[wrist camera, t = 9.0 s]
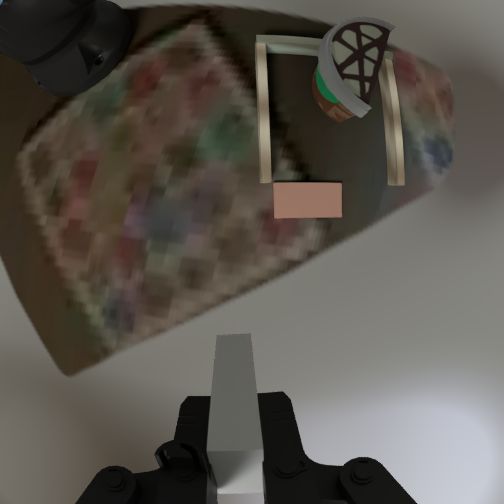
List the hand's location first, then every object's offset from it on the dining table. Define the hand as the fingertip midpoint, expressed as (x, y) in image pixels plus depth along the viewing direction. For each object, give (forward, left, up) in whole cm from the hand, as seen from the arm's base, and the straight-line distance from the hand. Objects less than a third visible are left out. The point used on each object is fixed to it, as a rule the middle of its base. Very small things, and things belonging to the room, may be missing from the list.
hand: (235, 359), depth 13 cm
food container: (-21, +12, -21) cm, 32 cm away
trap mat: (-7, +8, -21) cm, 24 cm away
